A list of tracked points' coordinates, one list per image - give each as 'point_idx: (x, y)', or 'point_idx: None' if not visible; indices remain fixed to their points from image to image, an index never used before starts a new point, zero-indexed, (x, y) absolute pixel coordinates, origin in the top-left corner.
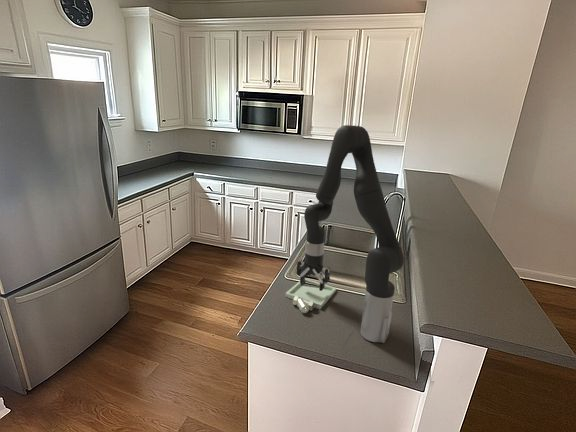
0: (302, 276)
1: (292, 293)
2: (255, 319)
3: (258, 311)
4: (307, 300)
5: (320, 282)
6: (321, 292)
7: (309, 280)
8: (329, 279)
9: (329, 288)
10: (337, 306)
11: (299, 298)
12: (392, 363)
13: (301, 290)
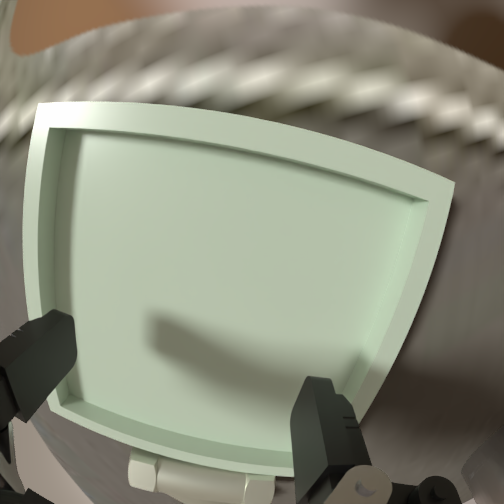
0: (8, 415)
1: (72, 370)
2: (93, 498)
3: (67, 472)
4: (223, 499)
5: (303, 498)
6: (297, 281)
7: (98, 118)
8: (454, 498)
9: (379, 185)
10: (426, 385)
11: (166, 492)
12: None
13: (98, 312)
